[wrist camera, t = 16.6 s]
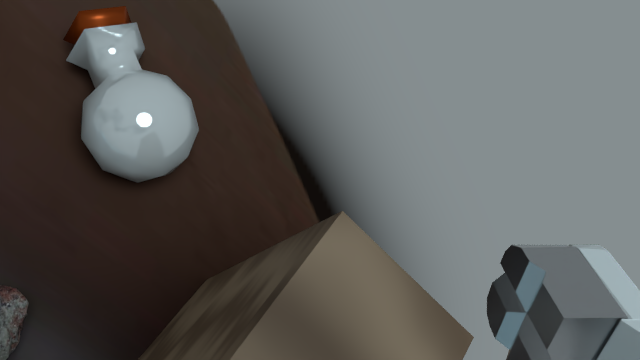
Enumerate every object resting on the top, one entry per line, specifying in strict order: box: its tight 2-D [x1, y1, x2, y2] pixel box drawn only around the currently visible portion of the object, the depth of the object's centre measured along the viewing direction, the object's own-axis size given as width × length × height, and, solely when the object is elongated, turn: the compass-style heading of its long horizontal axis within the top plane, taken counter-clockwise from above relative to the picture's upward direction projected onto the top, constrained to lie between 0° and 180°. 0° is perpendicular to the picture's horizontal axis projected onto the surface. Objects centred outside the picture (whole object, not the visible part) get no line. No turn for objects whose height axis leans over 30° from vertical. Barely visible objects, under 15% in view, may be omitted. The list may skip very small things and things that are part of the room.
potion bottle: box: [64, 6, 199, 183], centre depth 49 cm, size 9×10×15 cm
